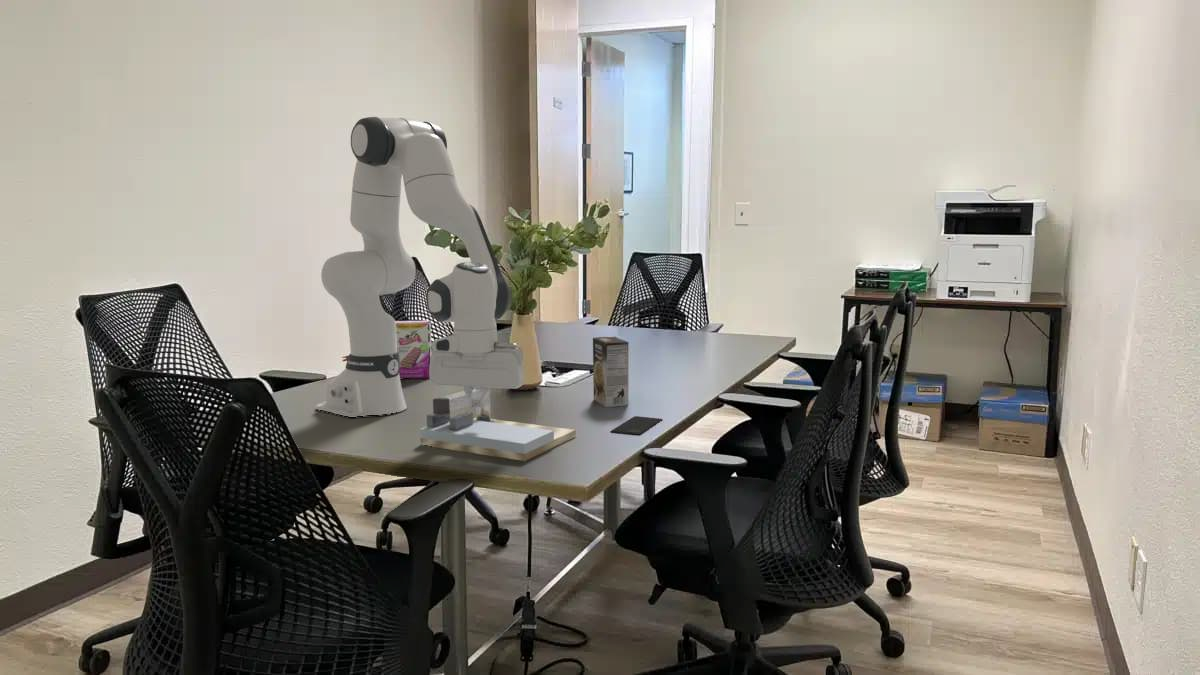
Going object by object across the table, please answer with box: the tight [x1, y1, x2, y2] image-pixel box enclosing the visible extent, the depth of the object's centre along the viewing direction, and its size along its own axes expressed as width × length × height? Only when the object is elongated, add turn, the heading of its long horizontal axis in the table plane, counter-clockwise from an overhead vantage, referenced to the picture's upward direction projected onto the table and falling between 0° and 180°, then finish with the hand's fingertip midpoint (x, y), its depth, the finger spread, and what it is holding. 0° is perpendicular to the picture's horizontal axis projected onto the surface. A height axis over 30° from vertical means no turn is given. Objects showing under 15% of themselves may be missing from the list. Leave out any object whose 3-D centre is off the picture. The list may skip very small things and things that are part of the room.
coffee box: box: [592, 336, 630, 408], centre depth 221 cm, size 9×6×16 cm
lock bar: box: [432, 387, 492, 422], centre depth 191 cm, size 18×3×8 cm, turn 151°
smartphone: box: [610, 415, 663, 437], centre depth 200 cm, size 7×1×15 cm
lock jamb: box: [419, 411, 577, 462], centre depth 188 cm, size 26×20×6 cm
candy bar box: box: [395, 320, 433, 380], centre depth 255 cm, size 11×5×16 cm, turn 97°
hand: (477, 407), depth 185 cm, fingers closed
